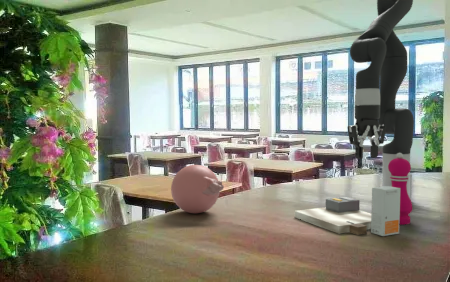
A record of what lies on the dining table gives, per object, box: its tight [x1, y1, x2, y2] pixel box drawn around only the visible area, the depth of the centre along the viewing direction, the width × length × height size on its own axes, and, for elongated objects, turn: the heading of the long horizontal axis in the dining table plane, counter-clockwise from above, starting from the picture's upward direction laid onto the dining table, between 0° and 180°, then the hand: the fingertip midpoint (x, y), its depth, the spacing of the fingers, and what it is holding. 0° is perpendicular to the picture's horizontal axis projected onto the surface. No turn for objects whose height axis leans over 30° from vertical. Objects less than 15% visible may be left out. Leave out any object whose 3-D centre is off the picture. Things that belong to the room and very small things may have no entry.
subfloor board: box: [294, 206, 371, 236], centre depth 120 cm, size 18×23×2 cm
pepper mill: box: [388, 153, 413, 226], centre depth 120 cm, size 7×7×20 cm
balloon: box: [170, 164, 224, 214], centre depth 132 cm, size 15×20×15 cm
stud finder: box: [325, 196, 361, 213], centre depth 128 cm, size 8×6×3 cm
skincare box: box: [370, 186, 400, 237], centre depth 108 cm, size 6×4×12 cm
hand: (366, 157), depth 131 cm, fingers open, 5 cm apart
